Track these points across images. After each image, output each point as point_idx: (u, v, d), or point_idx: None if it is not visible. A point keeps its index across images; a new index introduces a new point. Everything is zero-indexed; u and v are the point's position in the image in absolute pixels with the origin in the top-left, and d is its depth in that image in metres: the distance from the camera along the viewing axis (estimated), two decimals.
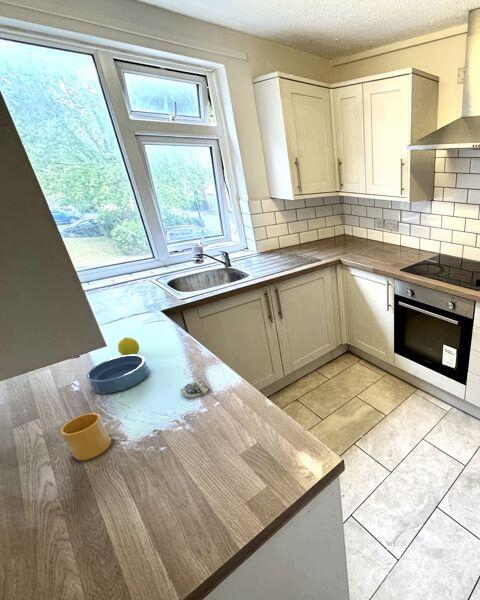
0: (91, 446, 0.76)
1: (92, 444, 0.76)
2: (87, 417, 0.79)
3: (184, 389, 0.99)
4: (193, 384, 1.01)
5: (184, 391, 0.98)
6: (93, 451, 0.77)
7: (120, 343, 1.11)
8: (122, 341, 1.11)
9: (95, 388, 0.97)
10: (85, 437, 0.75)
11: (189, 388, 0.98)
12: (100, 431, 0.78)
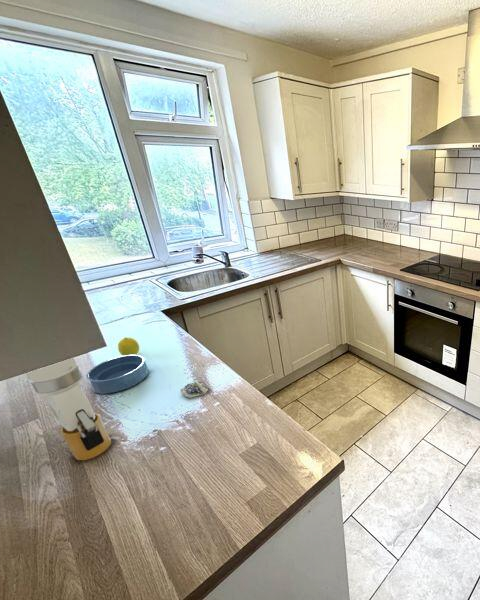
0: None
1: None
2: None
3: (184, 389, 0.99)
4: (193, 384, 1.01)
5: (184, 391, 0.98)
6: (93, 451, 0.77)
7: (120, 343, 1.11)
8: (122, 341, 1.11)
9: (95, 388, 0.97)
10: None
11: (189, 388, 0.98)
12: (100, 431, 0.78)
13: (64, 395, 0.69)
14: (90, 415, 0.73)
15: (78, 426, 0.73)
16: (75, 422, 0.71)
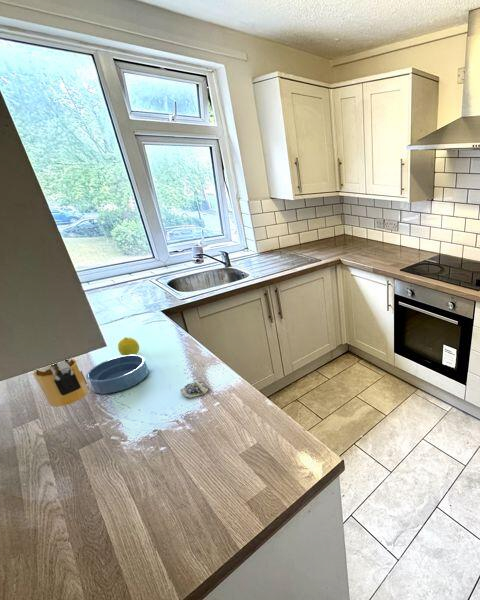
0: None
1: None
2: None
3: (184, 389, 0.99)
4: (193, 384, 1.01)
5: (184, 391, 0.98)
6: (69, 397, 0.72)
7: (120, 343, 1.11)
8: (122, 341, 1.11)
9: (95, 388, 0.97)
10: None
11: (189, 388, 0.98)
12: (76, 376, 0.73)
13: None
14: None
15: (52, 367, 0.68)
16: None
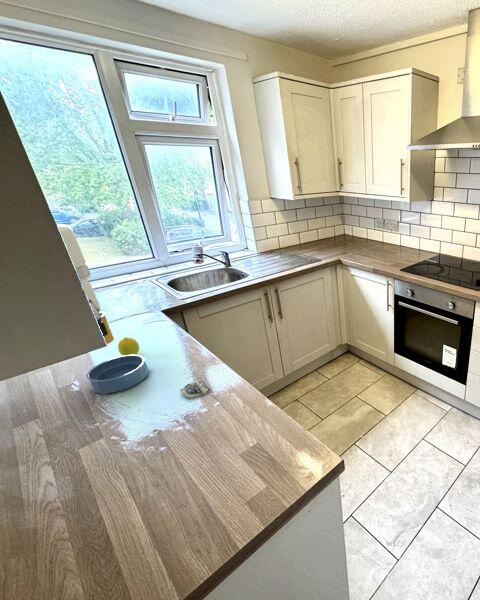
0: None
1: None
2: None
3: (184, 389, 0.99)
4: (193, 384, 1.01)
5: (184, 391, 0.98)
6: None
7: (120, 343, 1.11)
8: (122, 341, 1.11)
9: (95, 388, 0.97)
10: None
11: (189, 388, 0.98)
12: None
13: None
14: (96, 307, 0.87)
15: None
16: None
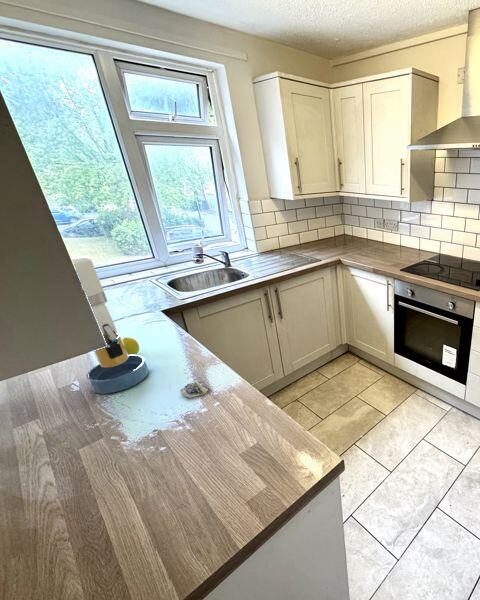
0: None
1: None
2: None
3: (184, 389, 0.99)
4: (193, 384, 1.01)
5: (184, 391, 0.98)
6: (115, 361, 0.98)
7: None
8: None
9: (95, 388, 0.97)
10: None
11: (189, 388, 0.98)
12: (120, 345, 0.99)
13: (94, 310, 0.91)
14: (113, 330, 0.95)
15: None
16: None
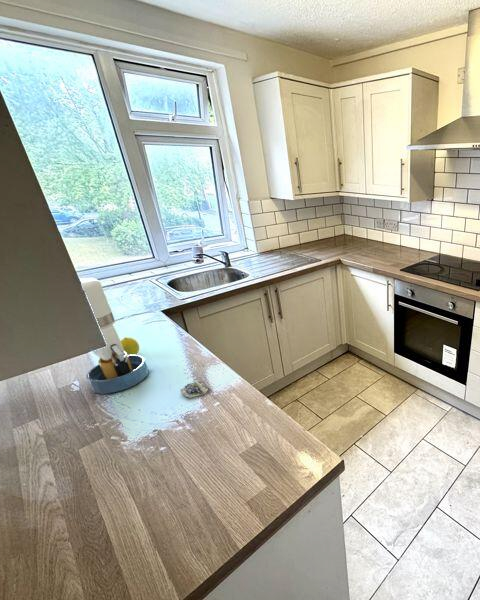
0: None
1: None
2: None
3: (184, 389, 0.99)
4: (193, 384, 1.01)
5: (184, 391, 0.98)
6: None
7: None
8: (122, 341, 1.11)
9: (95, 388, 0.97)
10: None
11: (189, 388, 0.98)
12: None
13: (103, 331, 0.93)
14: (120, 349, 0.97)
15: (112, 356, 0.96)
16: (109, 351, 0.95)
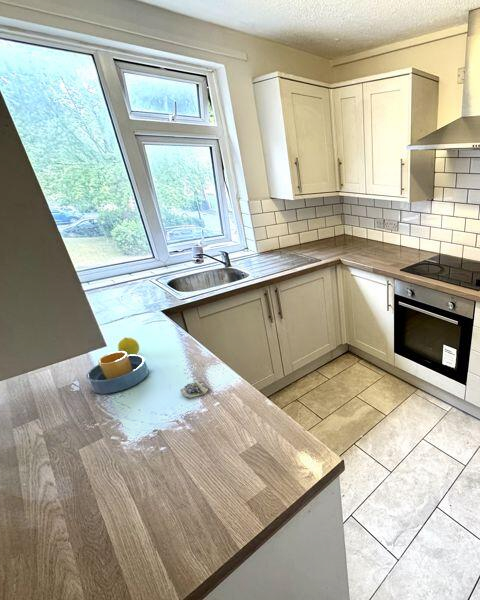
0: (121, 374, 1.00)
1: (121, 372, 1.00)
2: (116, 354, 1.03)
3: (184, 389, 0.99)
4: (193, 384, 1.01)
5: (184, 391, 0.98)
6: None
7: (120, 343, 1.11)
8: (122, 341, 1.11)
9: (95, 388, 0.97)
10: (117, 367, 0.99)
11: (189, 388, 0.98)
12: (127, 364, 1.02)
13: None
14: None
15: None
16: None
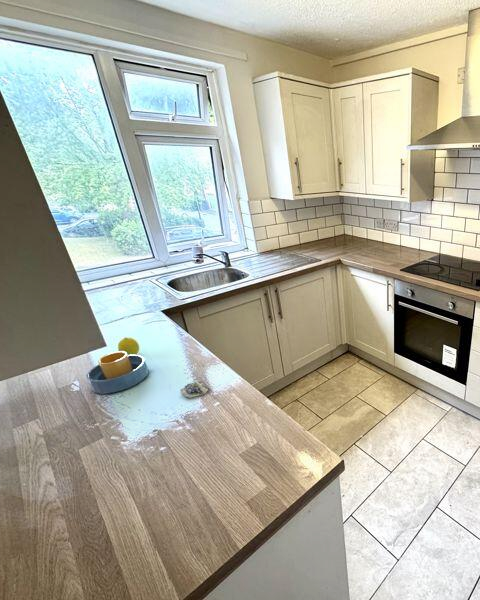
0: (121, 374, 1.00)
1: (121, 372, 1.00)
2: (116, 354, 1.03)
3: (184, 389, 0.99)
4: (193, 384, 1.01)
5: (184, 391, 0.98)
6: None
7: (120, 343, 1.11)
8: (122, 341, 1.11)
9: (95, 388, 0.97)
10: (117, 367, 0.99)
11: (189, 388, 0.98)
12: (127, 364, 1.02)
13: None
14: None
15: None
16: None
